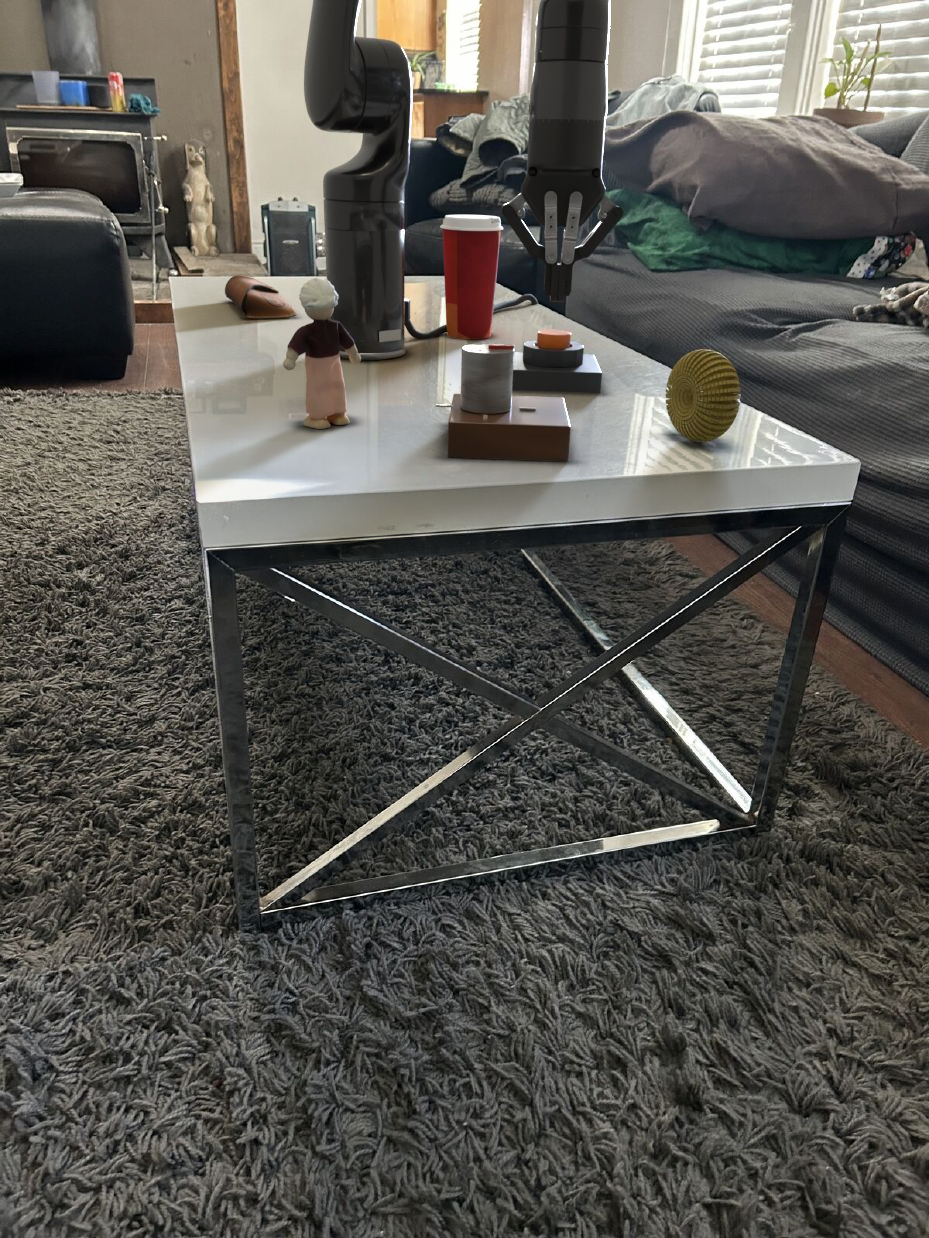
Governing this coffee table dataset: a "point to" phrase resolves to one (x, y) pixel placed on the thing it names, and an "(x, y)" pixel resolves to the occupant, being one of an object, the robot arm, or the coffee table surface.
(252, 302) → the sunglasses case
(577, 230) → the robot arm
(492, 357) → the lock knob
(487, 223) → the coffee cup
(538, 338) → the button
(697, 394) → the sculpture
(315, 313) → the grandmother figurine
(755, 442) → the coffee table surface
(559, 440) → the panel
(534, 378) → the button box
